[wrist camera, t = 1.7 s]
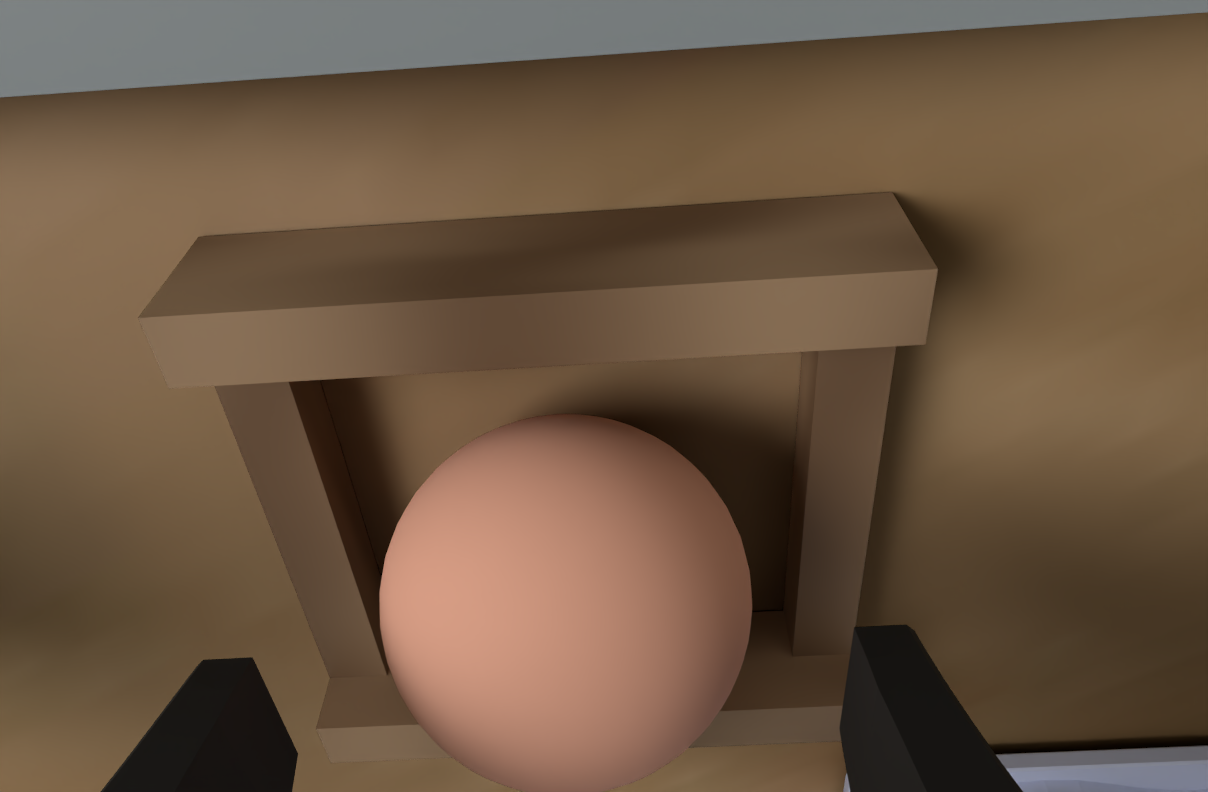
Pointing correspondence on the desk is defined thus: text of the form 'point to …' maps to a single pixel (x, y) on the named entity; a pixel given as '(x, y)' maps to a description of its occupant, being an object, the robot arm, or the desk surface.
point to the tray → (447, 32)
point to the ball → (565, 604)
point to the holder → (558, 338)
